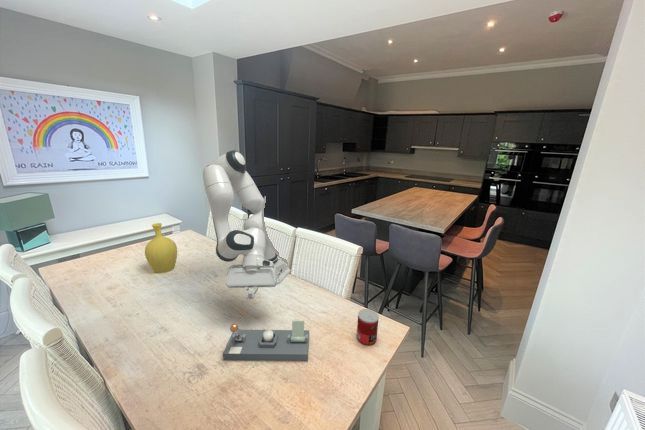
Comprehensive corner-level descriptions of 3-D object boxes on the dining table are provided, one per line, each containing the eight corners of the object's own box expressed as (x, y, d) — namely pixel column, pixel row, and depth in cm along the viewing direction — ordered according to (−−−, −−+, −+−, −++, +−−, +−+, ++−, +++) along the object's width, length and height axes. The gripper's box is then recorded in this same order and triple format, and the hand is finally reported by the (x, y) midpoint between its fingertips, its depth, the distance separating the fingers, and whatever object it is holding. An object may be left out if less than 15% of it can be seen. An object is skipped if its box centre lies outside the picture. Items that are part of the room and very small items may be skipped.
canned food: (372, 348, 99) (374, 324, 95) (353, 340, 103) (354, 316, 99) (379, 336, 105) (381, 313, 102) (361, 328, 109) (362, 306, 106)
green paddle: (291, 340, 98) (291, 319, 99) (305, 340, 98) (305, 320, 99) (290, 342, 96) (291, 321, 97) (304, 342, 96) (305, 322, 97)
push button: (264, 335, 99) (264, 329, 98) (274, 335, 99) (273, 329, 98) (262, 342, 95) (262, 336, 95) (272, 342, 95) (272, 336, 95)
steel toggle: (236, 335, 99) (230, 322, 91) (244, 335, 99) (238, 322, 91) (234, 343, 97) (228, 329, 89) (242, 343, 97) (236, 330, 89)
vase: (185, 267, 157) (178, 223, 149) (157, 278, 144) (148, 231, 136) (170, 260, 165) (163, 218, 157) (143, 270, 152) (133, 225, 144)
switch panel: (234, 335, 104) (233, 324, 102) (309, 336, 104) (309, 325, 103) (223, 360, 92) (222, 348, 91) (307, 361, 93) (307, 349, 91)
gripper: (226, 262, 107) (221, 297, 100) (276, 262, 108) (274, 296, 101) (230, 267, 112) (225, 300, 106) (278, 266, 113) (276, 299, 107)
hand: (250, 298), depth 104 cm, fingers closed
